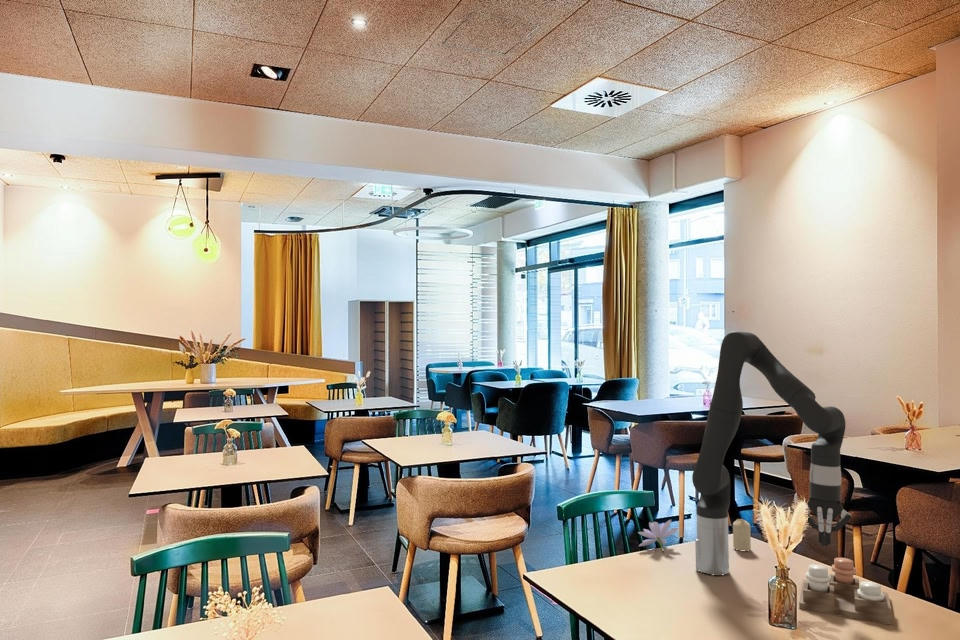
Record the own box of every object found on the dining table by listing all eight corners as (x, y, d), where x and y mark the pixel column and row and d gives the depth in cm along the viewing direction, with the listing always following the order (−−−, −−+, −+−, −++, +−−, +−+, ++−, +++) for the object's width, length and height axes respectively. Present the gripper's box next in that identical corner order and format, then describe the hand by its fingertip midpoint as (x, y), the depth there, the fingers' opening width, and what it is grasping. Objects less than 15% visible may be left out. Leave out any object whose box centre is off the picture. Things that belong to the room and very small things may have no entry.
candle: (752, 552, 216) (751, 522, 216) (735, 551, 217) (734, 521, 217) (748, 547, 221) (748, 518, 222) (732, 546, 222) (731, 517, 223)
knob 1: (805, 590, 172) (805, 569, 172) (806, 583, 177) (806, 562, 178) (831, 595, 169) (830, 572, 169) (831, 587, 175) (830, 565, 175)
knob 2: (857, 609, 166) (857, 586, 166) (857, 600, 171) (856, 579, 172) (885, 614, 163) (884, 590, 163) (883, 605, 168) (883, 583, 169)
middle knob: (831, 583, 178) (831, 561, 178) (832, 576, 183) (831, 555, 183) (856, 587, 175) (856, 565, 175) (856, 579, 180) (855, 558, 180)
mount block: (799, 608, 171) (798, 591, 171) (803, 584, 188) (802, 568, 188) (892, 625, 161) (892, 606, 161) (888, 598, 177) (887, 581, 177)
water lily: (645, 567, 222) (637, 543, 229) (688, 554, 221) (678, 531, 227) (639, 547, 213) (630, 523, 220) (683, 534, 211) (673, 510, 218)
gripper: (797, 480, 173) (796, 545, 173) (853, 487, 167) (853, 554, 167) (798, 475, 180) (798, 537, 180) (853, 481, 173) (852, 545, 173)
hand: (824, 545), depth 173 cm, fingers closed
